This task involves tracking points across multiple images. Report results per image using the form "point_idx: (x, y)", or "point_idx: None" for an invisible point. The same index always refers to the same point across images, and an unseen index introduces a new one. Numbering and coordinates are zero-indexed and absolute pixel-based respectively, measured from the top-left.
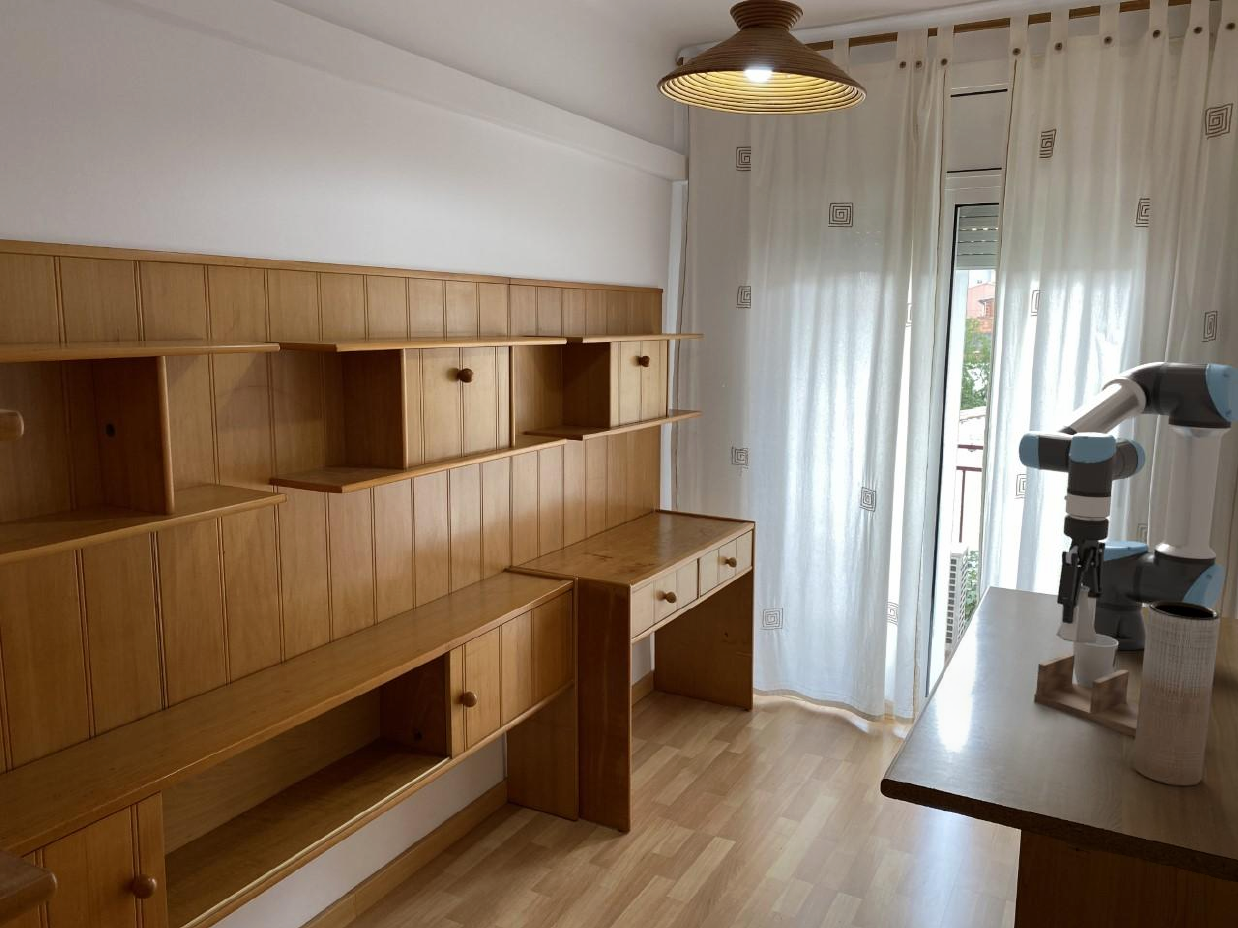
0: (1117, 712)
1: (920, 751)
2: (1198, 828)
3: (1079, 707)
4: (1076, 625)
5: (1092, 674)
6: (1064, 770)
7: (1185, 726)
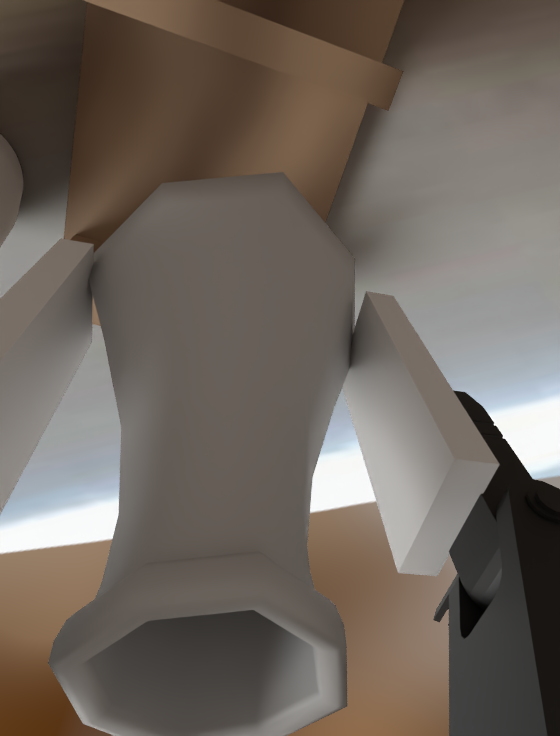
0: None
1: None
2: None
3: (331, 148)
4: (417, 348)
5: (5, 172)
6: None
7: None
